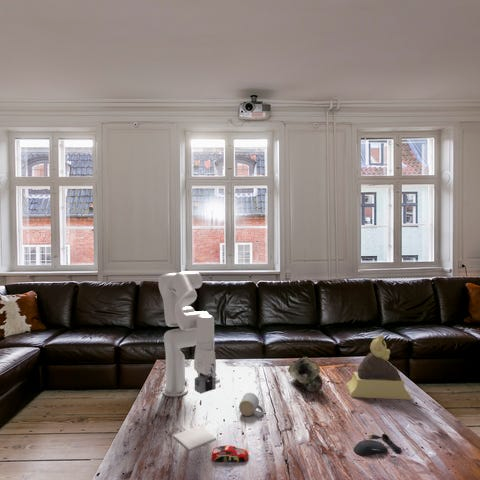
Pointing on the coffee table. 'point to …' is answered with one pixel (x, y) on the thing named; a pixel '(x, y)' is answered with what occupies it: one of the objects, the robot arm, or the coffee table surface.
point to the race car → (229, 454)
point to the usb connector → (204, 383)
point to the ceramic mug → (250, 405)
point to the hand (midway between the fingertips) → (205, 387)
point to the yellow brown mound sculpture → (377, 376)
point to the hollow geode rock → (306, 374)
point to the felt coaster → (194, 437)
